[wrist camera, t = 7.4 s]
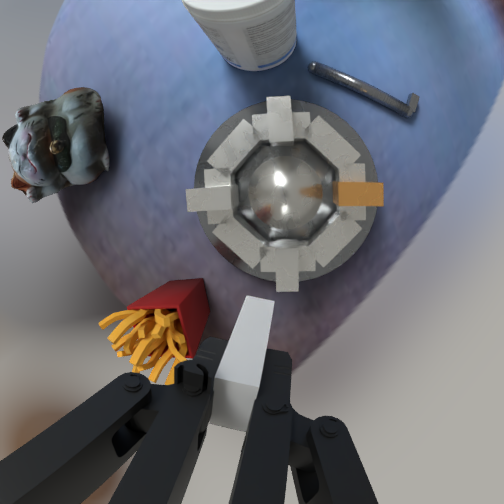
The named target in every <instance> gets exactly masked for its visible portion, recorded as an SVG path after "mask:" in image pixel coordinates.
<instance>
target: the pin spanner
mask: <svg viewBox="0 0 504 504" xmlns="http://www.w3.org/2000/svg"><path fill="white" fill-rule="evenodd" d="M308 69H309V71H310V72H311V73H313V74H315V75H318V76H321V77H323V78H326V79H328V80H331V81H333V82H335V83H338V84H340V85H342V86H345V87H347V88H349V89H351V90H354V91H356V92H358V93H360V94H362V95H364V96H366V97H368V98H370V99H372V100H374V101H376V102H378V103H380V104H382V105H384V106H386V107H388V108H390V109H391V110H393V111H395V112H397V113H399V114H400V115H402V116H404V117H406V118H410V117H412V115H413V113H415V110H416V107H417V104H418V100H419V96H417V95H416V94H414V93H411V94H410V95H409V97H408V100H407V103H406V104H405V103H403V102H402V101H400V100H398V99H396V98H395V97H393V96H391V95H389V94H387V93H385V92H383V91H381V90H379V89H378V88H376V87H374V86H372V85H369V84H367V83H365V82H363V81H361V80H359V79H357V78H355V77H352V76H350V75H348V74H346V73H343V72H341V71H339V70H336V69H334V68H331V67H329V66H326V65H324V64H321V63H318V62H311V63H310V64H309V65H308Z"/></svg>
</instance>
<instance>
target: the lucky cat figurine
mask: <svg viewBox="0 0 504 504" xmlns="http://www.w3.org/2000/svg"><path fill="white" fill-rule="evenodd" d="M16 120H17V125H14V126H13V127H11V128H10V129H8V130H7V131H6V132H5V133H4V135H3V137H2V140H3V142H4V143H5V144H6V146H7V147H8V149H9V160H10V162H11V165H12V168H13V170H14V175H13V178H12V179H11V184H12V187H13V188H14V189H18V190H21V191H23V192H24V194H25V195H26V196H27V198H29V200H30V201H31V202H32V203H34V202H37V201H39V200H40V199H42V198H43V197H46V196H49V195H52V194H53V193H58V192H59V191H60V190H62V189H64V188H66V187H68V186H72V185H75V184H78V185H81V184H88V183H91V182H92V181H94V180H96V179H97V177H98V176H99V175H100V174H101V173H102V172H103V171H104V170H107V171H108V170H109V154H108V150H107V146H106V141H105V131H104V109H103V104H102V101H101V96H100V95H99V94H98V93H97V92H96V91H94V90H93V89H90V88H84V87H81V88H74V89H71V90H68V91H67V92H65V93H64V94H63V95H62V96H61V97H59V98H58V99H55V100H50V101H44V102H41V103H38V104H35V105H31V106H27V107H22V108H20V109H18V111H17V112H16Z"/></svg>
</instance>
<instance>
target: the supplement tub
mask: <svg viewBox="0 0 504 504" xmlns="http://www.w3.org/2000/svg"><path fill="white" fill-rule="evenodd" d="M182 2H183V5H184V6H185V8H186V9H187V10H188V11H189V13H190V14H191V15H192V17H193V18H194V19H195V21H196V22H197V23H198V24H199V26H200V27H201V28H202V30H203V31H204V32H205V34H206V35H207V36H208V38H209V39H210V40H211V42H212V43H213V44H214V46H215V47H216V48H217V50H218V51H219V53H220V54H221V55H222V57H223V58H224V59H225V60H226V61H227V62H228V63H229V64H231V65H232V66H234V67H236V68H239V69H242V70H247V71H262V70H267V69H270V68H273V67H276V66H278V65H280V64H281V63H283V62H284V61H285V60H287V59H288V58H289V56H290V55H291V54H292V52H293V50H294V49H295V46H296V14H295V0H182Z"/></svg>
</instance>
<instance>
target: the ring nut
mask: <svg viewBox="0 0 504 504" xmlns="http://www.w3.org/2000/svg"><path fill="white" fill-rule="evenodd" d="M266 100H267V114H257V115H252V125H253V126H252V125H250V124H249V123H248V122H247V121H246V120H244V119H243V120H242V121H241V122H240V123H239V125H238V126H237V127H236V128H235V129H234V130H233V131H232V132H231V133H230V135H229V136H228V137H227V138H226V139H225V140H224V141H223V143H222V144H221V145H220V146H219V147H218V148H217V150H216V151H215V152H214V153H213V154H212V155H211V157H210V158H209V159H208V160H207V162H208V163H209V164H211V165H212V166H213V167H214V168H215V169H205V170H204V178H205V187H200V188H193V189H186V199H187V210H188V212H194V211H207V217H208V224H219V225H218V226H217V227H216V228H215V229H214V231H213V232H212V233H213V234H215V235H216V236H217V237H218V238H219V239H220V240H221V241H222V242H223V243H225V244H226V245H227V246H228V247H229V248H230V249H231V250H232V251H233V252H235V253H236V254H237V255H238V256H239V257H240V258H241V259H242V260H243V261H245V262H246V263H247V264H248V265H249V266H250V267H251V268H252V269H253V268H254V267H255V266H256V265H257V264H258V263H259V262H260V264H261V272H276V292H299V271H315V264H316V261H317V262H318V263H319V264H320V265H321V266H322V267H325V266H326V265H327V264H328V263H329V262H330V261H331V260H332V259H333V258H334V257H335V256H336V255H337V254H338V253H339V252H340V251H341V250H342V249H343V248H344V247H345V246H346V245H347V244H348V243H349V242H350V241H351V240H352V239H353V238H354V237H355V236H356V235H357V234H358V233H359V231H360V230H361V229H362V228H361V227H360V226H359V224H358V223H357V222H356V221H355V220H366V206H383V183H380V182H365V164H359V163H354V162H355V161H356V160H357V159H358V158H359V157H360V156H361V155H360V154H359V153H358V152H357V151H356V150H355V149H354V148H353V147H352V146H351V145H350V144H349V143H348V142H347V141H346V140H345V139H344V138H343V137H342V136H341V135H340V134H339V133H338V132H337V131H335V130H334V129H333V128H332V127H331V126H330V125H329V124H328V123H327V122H325V121H324V120H323V119H322V118H321V117H320V116H319V115H318V116H317V117H316V118H315V119H314V121H313V122H312V123H310V112H292V110H291V98H290V96H276V97H266ZM298 141H304V142H306V143H307V144H308V145H309V146H310V147H311V148H312V149H313V150H314V151H315V152H317V153H318V154H319V155H320V156H321V157H322V158H323V159H324V160H325V161H326V162H327V163H328V164H329V165H330V166H331V167H333V168H334V169H335V178H336V181H332V186H333V203H335V204H336V212H335V213H334V214H333V215H332V216H331V217H330V218H329V219H328V220H327V221H326V222H325V223H324V224H323V225H322V226H321V227H320V229H319V230H318V231H317V232H316V233H315V234H314V235H313V236H312V237H311V238H310V239H309V240H298V239H278V240H277V241H267V240H266V239H265V238H264V237H263V236H262V235H261V234H260V233H258V232H257V231H256V230H255V229H254V228H253V227H252V226H251V225H250V224H249V223H247V222H246V221H245V220H244V219H243V218H242V217H241V216H240V215H239V214H238V210H237V206H239V194H238V185H236V179H235V173H236V172H237V171H238V170H239V169H240V168H241V166H242V165H243V164H244V163H245V162H246V161H247V160H248V159H249V157H250V156H251V155H252V154H253V153H254V152H255V151H256V150H257V149H258V147H259V146H260V145H261V144H262V143H270V144H271V145H272V146H294V142H298Z"/></svg>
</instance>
